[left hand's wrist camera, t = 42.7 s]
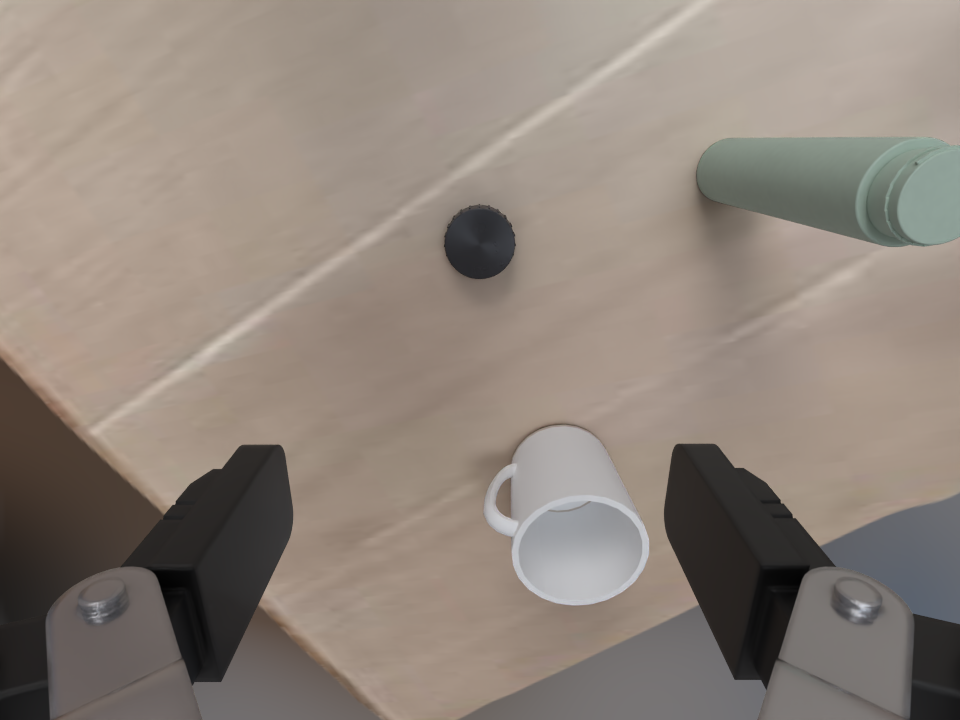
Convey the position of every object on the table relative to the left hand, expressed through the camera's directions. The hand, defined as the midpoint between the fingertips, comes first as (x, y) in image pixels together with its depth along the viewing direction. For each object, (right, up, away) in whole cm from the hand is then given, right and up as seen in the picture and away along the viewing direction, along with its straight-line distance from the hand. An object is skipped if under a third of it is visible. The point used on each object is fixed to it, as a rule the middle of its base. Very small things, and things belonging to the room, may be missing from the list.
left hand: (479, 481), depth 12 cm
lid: (0, +10, +26) cm, 28 cm away
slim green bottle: (+17, +15, +26) cm, 35 cm away
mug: (+6, -6, +34) cm, 35 cm away
